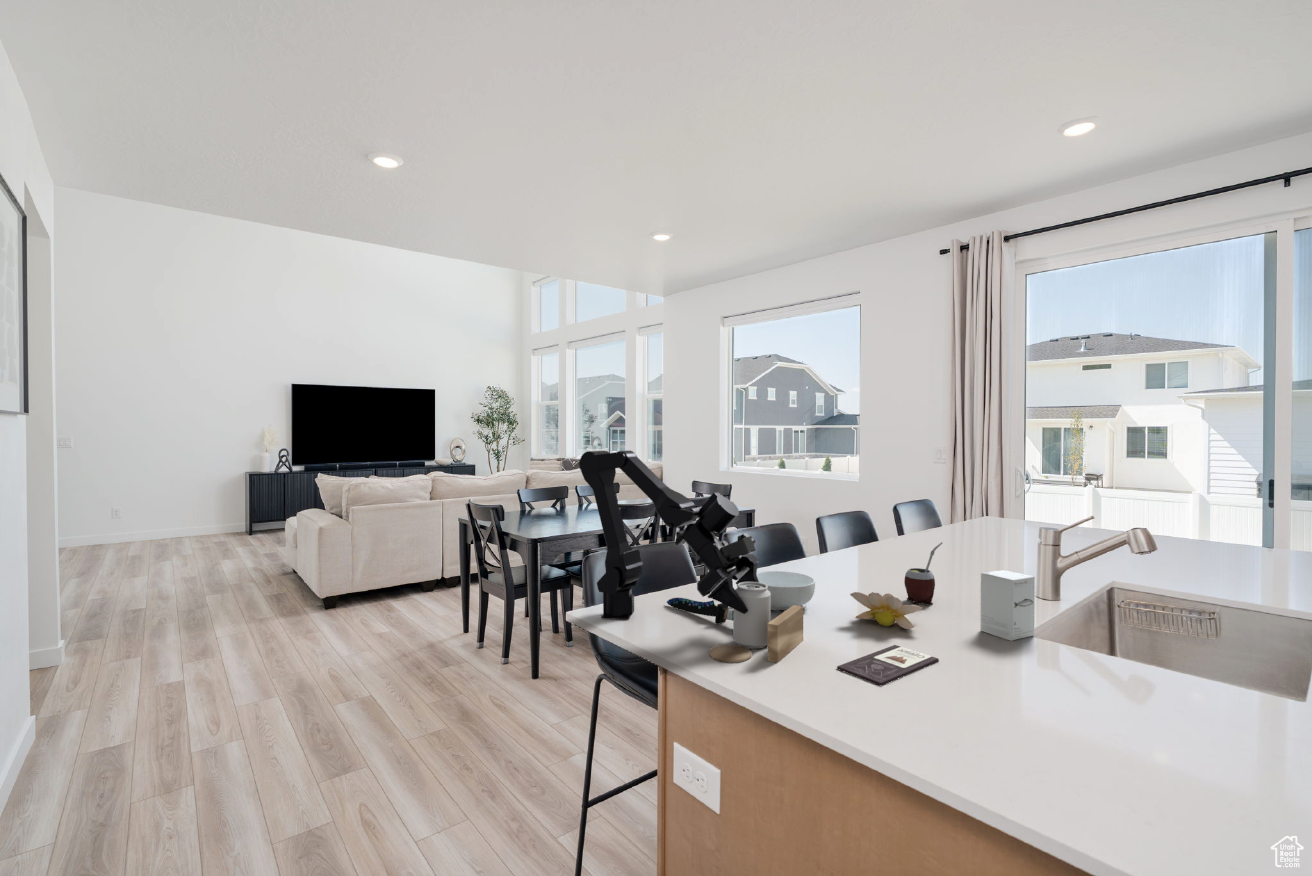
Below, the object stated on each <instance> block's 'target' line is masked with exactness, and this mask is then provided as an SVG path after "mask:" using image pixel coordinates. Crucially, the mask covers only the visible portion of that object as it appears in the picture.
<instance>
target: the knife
mask: <svg viewBox="0 0 1312 876" xmlns="http://www.w3.org/2000/svg"><path fill="white" fill-rule="evenodd" d="M666 603H667V604H668V606H669V607H672V608H675V609H676V610H681V611H683V610H684V612H687V613H692V614H696V615H701V616H706V617H715V618H714V623H715V624H716V625H720V624H722V623H725V622H726V621H733V608H731V609H730V608H729V606H727V605H725V604H723V603H721V602H719V603H718V604H717V605H716V604H715V600H714V599H712V600H710V601H698V600H693V599H689V598H685V597H672V598H669V599H668V600H667V601H666ZM719 623H720V624H719Z"/></svg>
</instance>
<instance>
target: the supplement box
mask: <svg viewBox="0 0 1312 876" xmlns="http://www.w3.org/2000/svg"><path fill="white" fill-rule="evenodd" d="M1035 580H1036V579H1035V576H1033V575H1030V574H1024V573H1020V572H1014V571H1011V570H1005V569H1001V570H993V571H987V572H981V573H980V631H982V632H985V633H987V634H990V635H992V636H995V637H998V638H1001V639H1005V640H1007V641H1010V642H1012V641H1016V640H1019V639H1023V638H1028V637H1029V638H1030V637H1034V636H1035V598H1036V597H1035V596H1036V595H1035V593H1036V592H1035V587H1036V586H1035V582H1036V581H1035Z"/></svg>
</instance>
